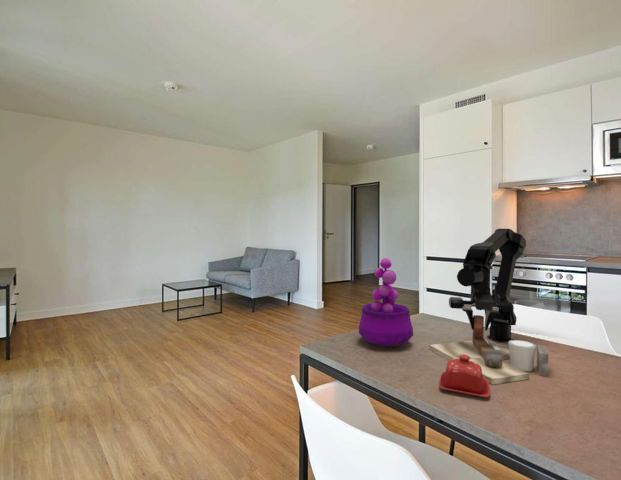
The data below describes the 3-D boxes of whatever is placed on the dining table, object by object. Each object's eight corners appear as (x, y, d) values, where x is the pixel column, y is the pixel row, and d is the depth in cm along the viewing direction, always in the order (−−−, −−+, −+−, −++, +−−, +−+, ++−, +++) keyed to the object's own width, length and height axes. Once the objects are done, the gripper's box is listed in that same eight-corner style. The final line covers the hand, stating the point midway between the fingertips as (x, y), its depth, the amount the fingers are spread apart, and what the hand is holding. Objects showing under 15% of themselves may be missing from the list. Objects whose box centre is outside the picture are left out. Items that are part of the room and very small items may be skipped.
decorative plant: (424, 346, 118) (425, 258, 117) (383, 356, 109) (383, 261, 108) (386, 331, 135) (387, 255, 134) (348, 339, 126) (348, 257, 125)
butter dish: (488, 383, 91) (488, 351, 91) (490, 403, 81) (490, 367, 80) (441, 375, 96) (442, 344, 96) (438, 393, 85) (438, 359, 85)
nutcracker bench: (488, 342, 122) (489, 325, 122) (563, 374, 96) (564, 352, 96) (429, 349, 115) (429, 331, 115) (492, 384, 89) (492, 361, 89)
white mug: (541, 372, 97) (541, 347, 97) (516, 371, 97) (516, 347, 97) (526, 362, 104) (526, 339, 104) (503, 362, 104) (503, 339, 104)
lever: (506, 367, 95) (507, 335, 95) (487, 366, 96) (487, 334, 96) (485, 342, 116) (485, 315, 116) (469, 341, 117) (470, 314, 117)
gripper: (453, 285, 109) (452, 334, 110) (519, 289, 104) (518, 340, 105) (449, 280, 120) (448, 325, 121) (509, 283, 115) (507, 329, 116)
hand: (479, 329), depth 115 cm, fingers open, 4 cm apart
